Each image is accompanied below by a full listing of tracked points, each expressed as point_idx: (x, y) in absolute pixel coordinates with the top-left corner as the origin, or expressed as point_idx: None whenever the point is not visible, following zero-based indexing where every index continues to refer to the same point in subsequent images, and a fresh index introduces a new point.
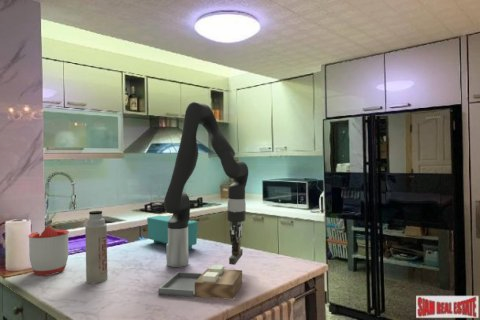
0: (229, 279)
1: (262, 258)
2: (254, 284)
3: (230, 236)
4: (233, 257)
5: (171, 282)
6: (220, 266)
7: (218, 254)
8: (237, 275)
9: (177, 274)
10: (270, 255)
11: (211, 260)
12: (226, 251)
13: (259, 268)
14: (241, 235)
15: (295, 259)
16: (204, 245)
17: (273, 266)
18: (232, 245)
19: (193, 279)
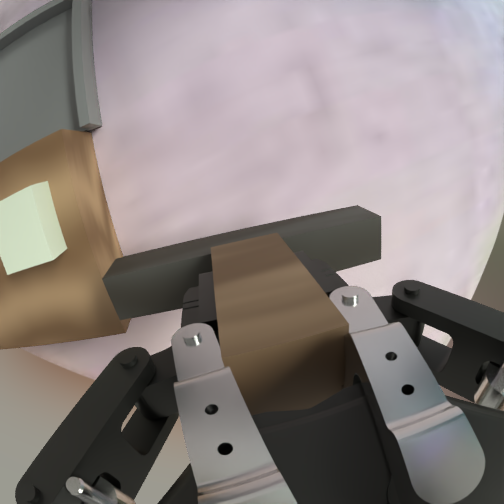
0: (12, 322)
1: (457, 241)
2: (153, 343)
3: (63, 425)
4: (131, 301)
5: (8, 42)
6: (33, 245)
7: (453, 47)
8: (59, 337)
9: (58, 5)
10: (478, 254)
11: (386, 25)
12: (484, 76)
13: (352, 284)
14: (419, 347)
15: (443, 341)
16: (486, 2)
17: None
18: (215, 292)
19: (60, 77)
